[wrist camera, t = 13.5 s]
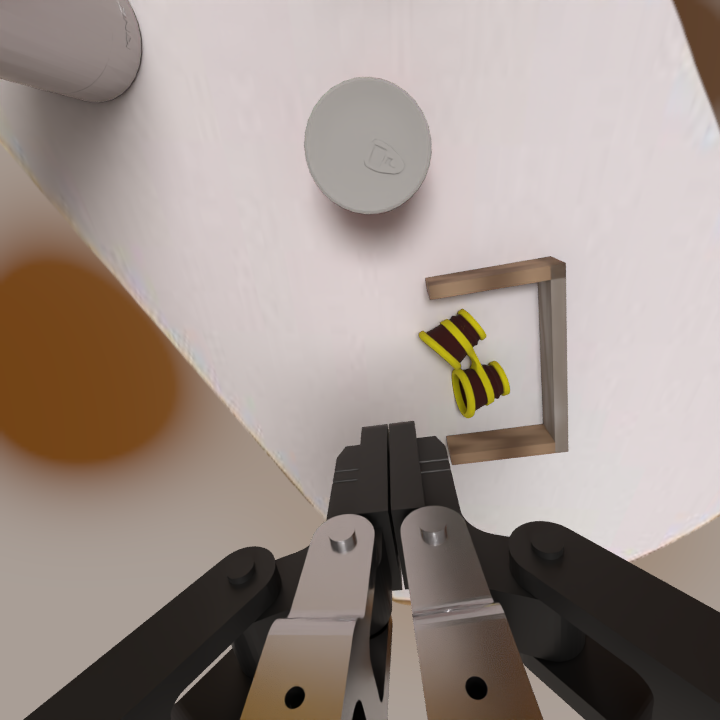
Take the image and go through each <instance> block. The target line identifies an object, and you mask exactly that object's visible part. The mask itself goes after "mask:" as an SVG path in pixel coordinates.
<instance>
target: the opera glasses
mask: <svg viewBox="0 0 720 720" xmlns="http://www.w3.org/2000/svg"><path fill="white" fill-rule="evenodd" d="M440 324H441V325H439V326H438V327H436V328H434V329H432V330H430V331H429V332H427V333H426V332H424V331H421V332H420V333H419V337H420V339H421V340H422V341H423V342H425V343H426V344H427V345H428V346H429V347H431V348H432V349H433V350H434V351H435V352H437V353H438V354H439V355H440V356H441V357H442V358H444V359H445V360H446V361H447V362H448V363H449V364H450V365H451V366H452V367H453V368H454V370H453V372H452V385H453V391H454V395H455V399H456V402H457V405H458V408H459V410H460V412H461V414H462V415H463V416H464V417H466V418H471V417H473V416H474V413H475V411H476V410H477V409H479V408H480V407H482V406H484V405H486V406H488V405H489V404H491V403H492V402H494V399H495V398H496V399H498V398H499V397H500V395H502V396H505V395H508V394H509V393H510V386H509V382H508V379H507V376H506V374H505V372H504V370H503V369H502V367H501V366H500V364H499V363H498V362H496V361H493V362H490V363H489V366H487V365H482V366H481V364H480V362H479V359H478V358H477V356H476V354H475V352H474V349H473V347H474V346H475V345H478V341H479V339H480V340H484V339H485V338H486V334H485V332H484V330H483V329H482V328H481V326H480V325H479V324H478V323H477V321H476V320H475V319H474V318H473V317H472V316H471V315H470V314H469V313H468V312H467V311H465V310H464V309H461V310H460V311H458V315H457V316H452V319H450V320H448V319H446V320H444V321H442V322H440ZM466 355H468V356H469V357H470V359H471V361H472V364H471V367H470V369H466V370H462V369H461V364H460V362H461V361H462V360H463V359H464V357H465V356H466ZM463 401H464V402H463Z"/></svg>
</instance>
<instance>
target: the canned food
mask: <svg viewBox="0 0 720 720" xmlns="http://www.w3.org/2000/svg"><path fill="white" fill-rule="evenodd" d="M304 148H305V157H306V161H307V165H308V168H309V171H310V173H311V175H312V177H313V179H314V181H315V183H316V184H317V186H318V187H319V188H320V190H321V191H322V192H323V193H324V194H325V195H326V196H327V197H328V198H329V199H330V200H331V201H332V202H334V203H335V204H337V205H339V206H340V207H342V208H344V209H347V210H349V211H352V212H355V213H361V214H380V213H383V212H387V211H391V210H393V209H395V208H397V207H399V206H401V205H402V204H403V203H405V202H406V201H407V200H409V199H410V198H411V197H412V196H413V195H414V194H415V192H416V191H417V190H418V189H419V187H420V186H421V184H422V182H423V181H424V179H425V177H426V174H427V171H428V168H429V165H430V159H431V153H432V151H431V136H430V131H429V126H428V123H427V121H426V119H425V116H424V114H423V112H422V110H421V109H420V107H419V106H418V104H417V103H416V101H415V100H414V99H413V98H412V97H411V96H410V95H409V94H408V93H407V92H406V91H405V90H403V89H402V88H400V87H399V86H397V85H395V84H394V83H391V82H389V81H386V80H383V79H380V78H373V77H359V78H353V79H350V80H347V81H343V82H341V83H340V84H338V85H336V86H334V87H333V88H331V89H330V90H329V91H328V92H327V93H326V94H324V95H323V96H322V97H321V99H320V100H319V101H318V103H317V104H316V105H315V107H314V108H313V111H312V113H311V115H310V117H309V119H308V123H307V127H306V131H305V141H304Z"/></svg>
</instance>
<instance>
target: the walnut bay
mask: <svg viewBox="0 0 720 720" xmlns="http://www.w3.org/2000/svg"><path fill="white" fill-rule="evenodd" d="M535 282H538V298H539V325H540V351H541V378H542V404H543V424H539V425H531V426H523V427H516V428H508V429H500V430H492V431H484V432H476V433H468V434H460V435H452V436H446V437H447V444H448V449H449V454H450V458H451V463H452V465H458V464H466V463H475V462H483V461H492V460H500V459H509V458H517V457H526V456H534V455H543V454H552V453H560V452H568V396H567V324H566V263H564V262H562V261H560V260H558V259H556V258H553V257H551V256H550V257H544V258H539V259H533V260H527V261H521V262H515V263H509V264H504V265H498V266H492V267H486V268H480V269H475V270H469V271H463V272H457V273H451V274H446V275H440V276H434V277H428V278H426V286H427V292H428V294H429V297H430V300H433V299H439V298H445V297H451V296H457V295H463V294H469V293H475V292H481V291H487V290H493V289H499V288H505V287H511V286H517V285H523V284H529V283H535Z"/></svg>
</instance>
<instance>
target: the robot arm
mask: <svg viewBox="0 0 720 720" xmlns="http://www.w3.org/2000/svg"><path fill="white" fill-rule="evenodd" d="M140 57H141V36H140V32H139V27H138V23H137V20H136V17H135V15H134V12H133V10H132V7H131V5H130V4H129V2H128V0H0V79H4V80H7V81H11V82H15V83H18V84H22V85H26V86H30V87H33V88H37V89H41V90H44V91H48V92H54V93H58V94H62V95H65V96H69V97H73V98H77V99H81V100H85V101H88V102H104V101H109V100H112V99H114V98H116V97H118V96H120V95H121V94H122V93H123V92H124V91H125V90H126V89H127V88H129V86H130V85H131V83H132V81H133V80H134V78H135V77H136V74H137V71H138V68H139V65H140ZM401 569H402V573H401ZM402 575H403V580H404V586H405V589H409V592H410V599H411V606H412V612H413V614H412V615H413V622H414V630H415V637H416V643H417V650H418V657H419V663H420V671H421V677H422V684H423V691H424V698H425V704H426V711H427V717H428V720H543V717H542V714H541V712H540V709H539V706H538V704H537V700H536V698H535V695H534V692H533V690H532V687H531V684H530V681H529V679H528V676H527V673H526V670H525V668H524V665H525V666H526V667H527V668H528V669H529V670H530V671H532V673H534V674H535V675H536V676H537V677H538V678H539V679H540V680H541V681H543V682H544V683H545V684H546V685H547V686H548V687H549V688H551V689H552V690H553V691H554V692H555V693H556V694H557V695H558V696H559V697H561V698H562V699H563V700H564V701H565V702H566V703H567V704H568V705H570V706H571V707H572V708H573V709H574V710H575V711H576V712H577V713H578V714H580V715H581V716H582V717H583V718H584V719H585V720H720V612H718V611H716V610H714V609H713V608H711V607H709V606H707V605H705V604H704V603H702V602H700V601H698V600H696V599H695V598H693V597H691V596H689V595H687V594H685V593H684V592H682V591H680V590H678V589H677V588H675V587H673V586H671V585H669V584H668V583H666V582H664V581H662V580H660V579H658V578H657V577H655V576H653V575H651V574H649V573H648V572H646V571H644V570H642V569H640V568H638V567H637V566H635V565H633V564H631V563H630V562H628V561H626V560H624V559H622V558H621V557H619V556H617V555H615V554H613V553H612V552H610V551H608V550H606V549H604V548H602V547H601V546H599V545H597V544H595V543H593V542H592V541H590V540H588V539H586V538H584V537H583V536H581V535H579V534H577V533H575V532H574V531H572V530H570V529H568V528H566V527H564V526H562V525H559V524H556V523H552V522H545V521H535V522H529V523H525V524H523V525H521V526H519V527H518V528H516V529H515V530H514V531H513V532H512V534H511V536H510V537H506V536H500V535H494V534H490V533H486V532H483V531H481V530H479V529H477V528H475V527H474V526H472V525H471V524H469V523H468V522H467V521H466V520H465V518H464V517H463V515H462V514H461V511H460V507H459V503H458V498H457V494H456V490H455V486H454V481H453V477H452V473H451V469H450V464H449V461H448V456H447V451H446V447H445V445H444V444H443V443H442V442H441V441H440V440H439V439H438V438H437V437H436V436H431V437H423V438H416V431H415V423H414V421H408V422H400V423H392V424H389V429H388V425H387V424H384V425H376V426H368V427H362V432H361V444H360V445H355V446H346V447H345V448H344V450H343V451H342V452H341V454H340V455H339V456H338V457H337V460H336V466H335V473H334V478H333V484H332V490H331V496H330V502H329V508H328V514H327V520H326V521H325V522H324V523H322V524H321V525H320V526H319V527H318V528H317V529H316V531H315V533H314V534H313V537H312V540H311V543H310V545H309V546H308V547H306V548H305V549H303V550H301V551H298V552H296V553H293V554H291V555H288V556H285V557H282V558H280V559H277V560H275V558H274V556H273V554H272V553H271V552H270V551H269V550H267V549H265V548H262V547H256V546H255V547H246V548H243V549H239V550H237V551H235V552H233V553H231V554H229V555H228V556H227V557H225V558H224V559H223V560H221V561H220V562H219V563H218V564H216V565H215V566H214V567H213V568H211V569H210V570H209V571H208V572H206V573H205V574H204V575H203V576H201V577H200V578H199V579H198V580H197V581H195V582H194V583H193V584H191V585H190V586H189V587H188V588H187V589H185V590H184V591H183V592H181V593H180V594H179V595H178V596H176V597H175V598H174V599H173V600H172V601H171V602H169V603H168V604H167V605H165V606H164V607H163V608H162V609H160V610H159V611H158V612H157V613H156V614H154V615H153V616H152V617H150V618H149V619H148V620H147V621H145V622H144V623H143V624H142V625H140V626H139V627H138V628H137V629H136V630H134V631H133V632H132V633H131V634H129V635H128V636H127V637H125V638H124V639H123V640H122V641H121V642H119V643H118V644H117V645H116V646H114V647H113V648H112V649H111V650H109V651H108V652H107V653H106V654H104V655H103V656H102V657H101V658H99V659H98V660H97V661H96V662H95V663H93V664H92V665H91V666H89V667H88V668H87V669H86V670H84V671H83V672H82V673H81V674H80V675H78V676H77V677H76V678H75V679H73V680H72V681H71V682H70V683H68V684H67V685H66V686H65V687H63V688H62V689H61V690H60V691H59V692H57V693H56V694H55V695H53V696H52V697H51V698H50V699H48V700H47V701H46V702H45V703H43V704H42V705H41V706H40V707H38V708H37V709H36V710H35V711H33V712H32V713H31V714H30V715H29V716H27V717H26V718H25V719H24V720H388V697H389V679H390V662H391V645H392V627H393V623H392V616H391V612H392V591H394V590H402ZM230 645H232V649H231V650H230V651H229V652H228V653H227V654H226V655H225V656H224V657H223V658H222V659H221V660H220V661H219V662H218V663H217V664H216V665H215V666H214V667H213V668H212V669H211V670H210V671H209V672H208V673H207V674H206V675H205V676H203V677H202V678H201V679H200V680H199V681H198V682H197V683H196V684H195V685H194V686H193V687H192V688H191V689H190V690H189V691H188V692H187V693H186V694H185V695H184V696H183V697H182V698H181V699H180V700H179V701H178V702H177V703H175V701H176V700H177V698H178V696H179V695H180V694H181V693H182V692H183V690H184V689H185V688H186V687H187V686H188V685H189V684H190V683H192V682H193V680H195V679H196V678H197V677H198V676H199V675H200V674H201V673H202V672H203V671H204V670H205V669H206V668H207V667H208V666H209V665H210V664H211V663H212V662H213V661H214V660H215V659H216V658H217V657H218V656H219V655H220V654H221V653H222V652H224V651H225V650H226V649H227V648H228V647H229V646H230ZM523 664H524V665H523ZM174 703H175V704H174Z"/></svg>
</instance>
